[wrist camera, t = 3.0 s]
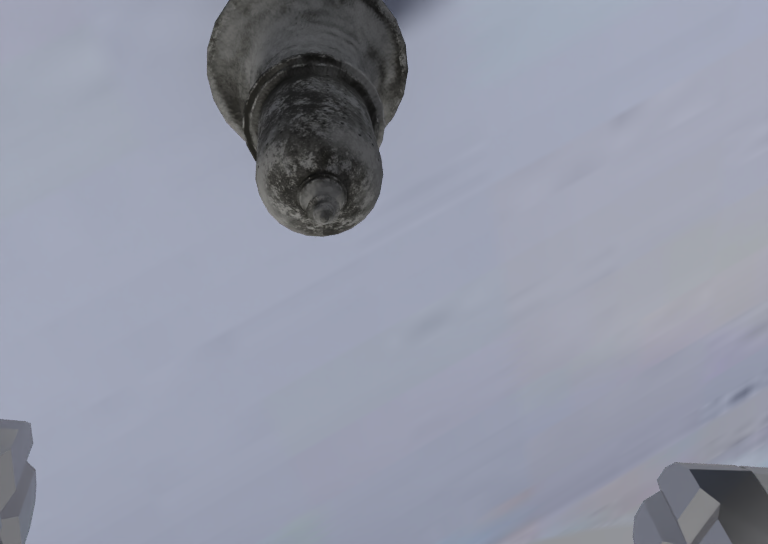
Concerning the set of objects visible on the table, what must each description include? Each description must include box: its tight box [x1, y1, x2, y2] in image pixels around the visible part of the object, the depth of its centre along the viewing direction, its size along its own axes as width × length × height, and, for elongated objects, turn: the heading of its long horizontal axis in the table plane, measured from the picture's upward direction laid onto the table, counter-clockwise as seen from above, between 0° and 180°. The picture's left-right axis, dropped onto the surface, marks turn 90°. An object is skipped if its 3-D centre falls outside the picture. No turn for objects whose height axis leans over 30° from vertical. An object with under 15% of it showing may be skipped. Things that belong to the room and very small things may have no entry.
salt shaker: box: [207, 0, 408, 237], centre depth 19 cm, size 6×6×12 cm
